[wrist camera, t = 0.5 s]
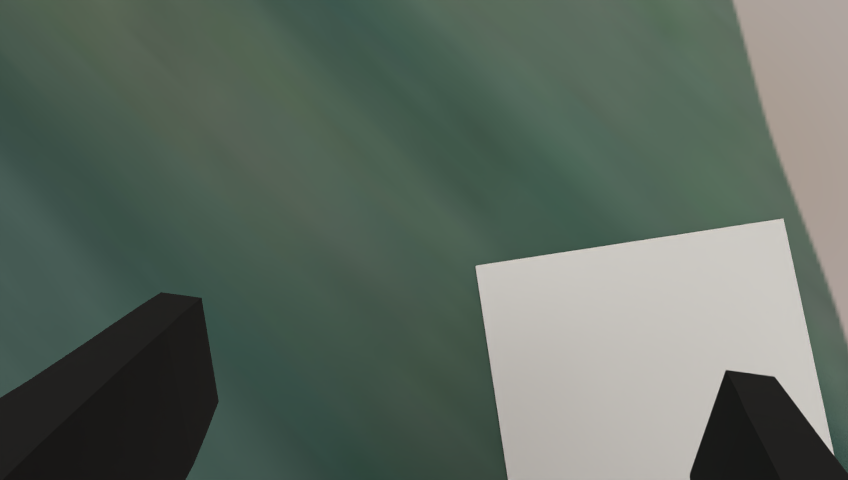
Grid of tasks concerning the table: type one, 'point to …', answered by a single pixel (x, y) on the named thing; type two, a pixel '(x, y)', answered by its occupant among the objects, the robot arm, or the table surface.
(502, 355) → the mat
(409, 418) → the table surface
